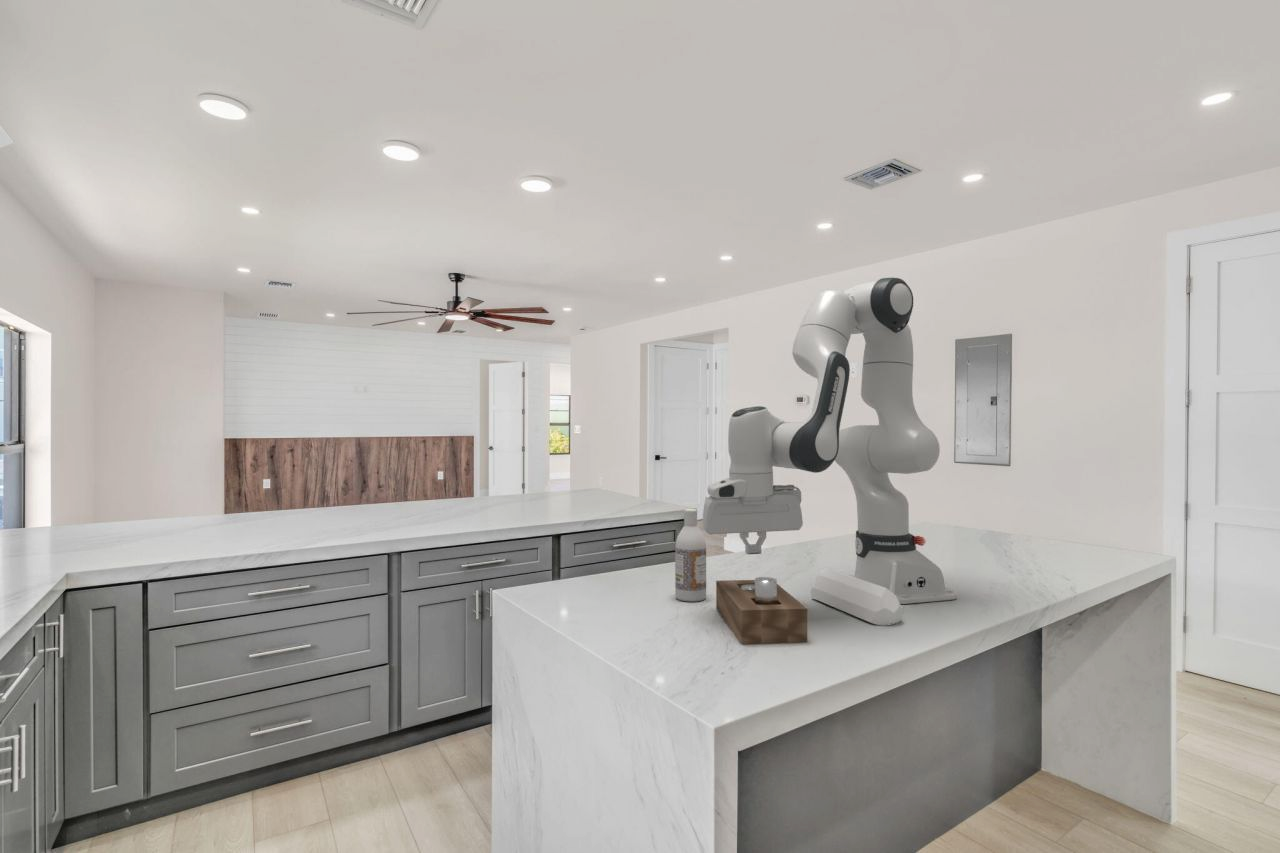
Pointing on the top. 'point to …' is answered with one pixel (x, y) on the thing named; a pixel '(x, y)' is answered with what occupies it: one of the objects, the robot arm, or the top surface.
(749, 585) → the peg
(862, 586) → the crystal
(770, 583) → the peg
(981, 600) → the top surface
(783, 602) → the brown wooden block
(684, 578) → the bath foam
